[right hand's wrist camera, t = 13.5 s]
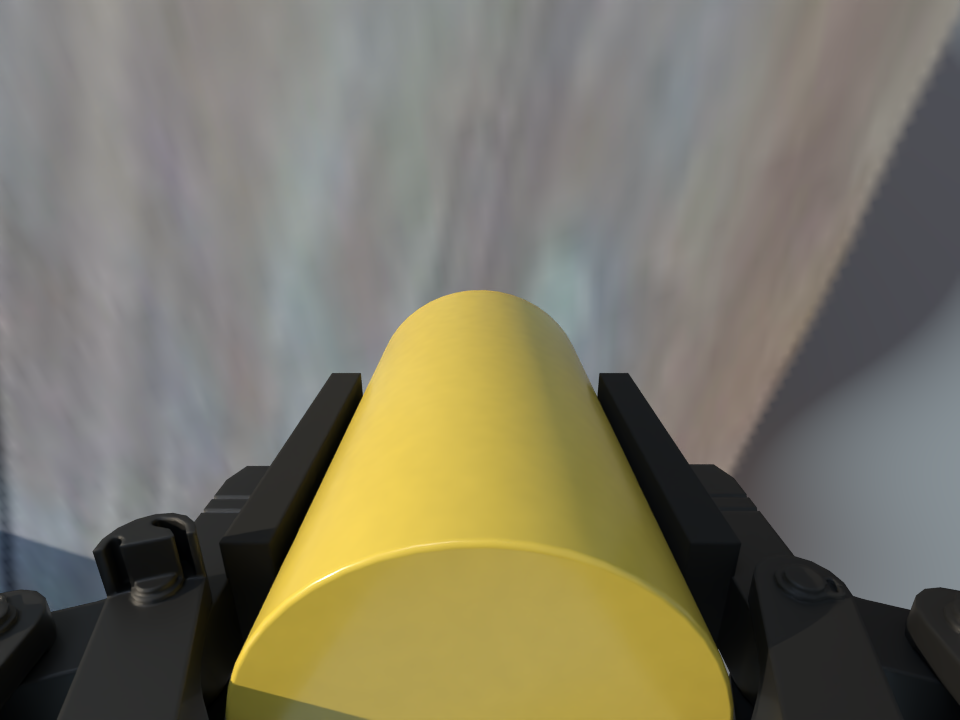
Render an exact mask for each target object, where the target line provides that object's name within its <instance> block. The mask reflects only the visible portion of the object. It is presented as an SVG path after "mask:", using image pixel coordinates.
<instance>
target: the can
mask: <svg viewBox="0 0 960 720" xmlns="http://www.w3.org/2000/svg"><path fill="white" fill-rule="evenodd" d="M733 709H734V704H733V696H732V690H731V685H730V679H729V676H728V673H727V671H726V668H725V666H724V663H723V660H722V658H721V655H720V653H719V651H718V649H717V647H716V645H715V642H714V640H713V638H712V636H711V634H710V632H709V630H708V628H707V626H706V624H705V622H704V619H703V617H702V615H701V613H700V611H699V609H698V607H697V605H696V603H695V601H694V598H693V596H692V594H691V592H690V590H689V588H688V586H687V584H686V582H685V580H684V578H683V575H682V573H681V571H680V569H679V567H678V565H677V563H676V561H675V559H674V557H673V555H672V552H671V550H670V548H669V546H668V544H667V542H666V540H665V538H664V536H663V534H662V531H661V529H660V527H659V525H658V523H657V521H656V519H655V517H654V515H653V513H652V511H651V508H650V506H649V504H648V502H647V500H646V498H645V496H644V494H643V492H642V490H641V488H640V485H639V483H638V481H637V479H636V477H635V475H634V473H633V471H632V469H631V467H630V465H629V462H628V460H627V458H626V456H625V454H624V452H623V450H622V448H621V446H620V444H619V441H618V439H617V437H616V435H615V433H614V431H613V429H612V427H611V425H610V423H609V421H608V418H607V416H606V414H605V412H604V410H603V408H602V406H601V404H600V402H599V400H598V398H597V395H596V393H595V391H594V389H593V387H592V385H591V383H590V381H589V379H588V377H587V374H586V372H585V370H584V368H583V366H582V364H581V362H580V360H579V358H578V356H577V354H576V351H575V349H574V347H573V345H572V343H571V342H570V340H569V338H568V337H567V335H566V333H565V332H564V331H563V330H562V328H561V327H560V326H559V324H558V323H557V322H556V321H555V320H554V319H553V318H551V317H550V316H549V315H548V314H547V313H546V312H544V311H543V310H542V309H540V308H539V307H537V306H536V305H534V304H532V303H530V302H528V301H526V300H524V299H521V298H519V297H516V296H514V295H510V294H506V293H502V292H497V291H487V290H472V291H464V292H457V293H453V294H450V295H446V296H443V297H441V298H438V299H436V300H434V301H431V302H429V303H428V304H426V305H424V306H423V307H421V308H419V309H418V310H417V311H415V312H414V313H413V314H412V315H410V316H409V317H408V318H407V319H406V320H405V321H404V322H403V323H402V324H401V325H400V326H399V328H398V329H397V330H396V332H395V333H394V335H393V336H392V337H391V339H390V341H389V343H388V345H387V347H386V349H385V351H384V353H383V355H382V357H381V359H380V361H379V364H378V366H377V368H376V370H375V372H374V374H373V376H372V378H371V380H370V382H369V384H368V387H367V389H366V391H365V393H364V395H363V397H362V399H361V401H360V403H359V405H358V407H357V410H356V412H355V414H354V416H353V418H352V420H351V422H350V424H349V426H348V428H347V430H346V433H345V435H344V437H343V439H342V441H341V443H340V445H339V447H338V449H337V451H336V453H335V456H334V458H333V460H332V462H331V464H330V466H329V468H328V470H327V472H326V474H325V476H324V479H323V481H322V483H321V485H320V487H319V489H318V491H317V493H316V495H315V497H314V499H313V502H312V504H311V506H310V508H309V510H308V512H307V514H306V516H305V518H304V520H303V522H302V524H301V527H300V529H299V531H298V533H297V535H296V537H295V539H294V541H293V543H292V545H291V547H290V550H289V552H288V554H287V556H286V558H285V560H284V562H283V564H282V566H281V568H280V570H279V573H278V575H277V577H276V579H275V581H274V583H273V585H272V587H271V589H270V591H269V593H268V596H267V598H266V600H265V602H264V604H263V606H262V608H261V610H260V612H259V614H258V616H257V619H256V621H255V623H254V625H253V627H252V629H251V631H250V633H249V635H248V637H247V639H246V642H245V644H244V646H243V648H242V650H241V652H240V654H239V656H238V658H237V660H236V662H235V665H234V668H233V672H232V675H231V678H230V682H229V685H228V691H227V701H226V713H225V715H226V720H733Z"/></svg>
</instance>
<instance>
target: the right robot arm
mask: <svg viewBox="0 0 960 720" xmlns="http://www.w3.org/2000/svg"><path fill="white" fill-rule="evenodd" d="M362 397H363V392H362V381H361V373H332V374H331V376H330V377H329V379H328V380H327V382H326V383H325V385H324V386H323V388H322V389H321V391H320V392H319V394H318V395H317V397H316V398H315V400H314V401H313V403H312V404H311V406H310V407H309V409H308V410H307V412H306V413H305V415H304V416H303V418H302V419H301V421H300V422H299V424H298V425H297V427H296V428H295V430H294V431H293V433H292V434H291V436H290V437H289V439H288V440H287V442H286V443H285V445H284V446H283V448H282V449H281V451H280V452H279V454H278V455H277V457H276V458H275V460H274V461H273V463H272V464H271V466H246V467H245V468H244V469H242V470H241V471H239V472H238V473H236V474H235V475H233V476H232V477H230V478H229V479H227V480H226V482H225V483H224V484H223V485H222V487H221V488H220V489H219V491H218V492H217V493H216V495H215V496H214V499H212V500H211V501H210V502H209V504H208V505H207V506H206V507H205V509H204V513H201V514H200V515H199V517H198V518H197V519H196V520H195V522H194V521H192V520H191V519H190V518H189V517H187V516H185V515H180V514H176V513H166V514H155V515H151V516H147V517H144V518H140V519H136V520H134V521H132V522H130V523H128V524H125V525H123V526H121V527H119V528H117V529H116V530H114V531H113V532H112V533H110V534H109V535H107V536H106V537H105V538H103V539H102V540H101V542H100V543H99V544H98V545H97V547H96V548H95V549H94V550H93V554H94V557H95V560H96V563H97V566H98V569H99V573H100V576H101V579H102V582H103V585H104V588H105V591H106V594H107V599H103V600H100V601H97V602H92V603H88V604H84V605H79V606H75V607H71V608H66V609H62V610H58V611H53V612H50V609H49V606H48V604H47V601H46V598H45V597H44V596H42V595H41V594H40V593H38V592H37V591H30V590H16V591H10V592H4V593H0V720H226V715H225V713H226V701H227V691H228V685H229V682H230V678H231V673H232V671H233V668H234V665H235V662H236V660H237V658H238V656H239V654H240V652H241V650H242V648H243V646H244V644H245V642H246V639H247V637H248V635H249V633H250V631H251V629H252V627H253V625H254V623H255V621H256V619H257V616H258V614H259V612H260V610H261V608H262V606H263V604H264V602H265V600H266V598H267V596H268V593H269V591H270V589H271V587H272V585H273V583H274V581H275V579H276V577H277V575H278V573H279V570H280V568H281V566H282V564H283V562H284V560H285V558H286V556H287V554H288V552H289V550H290V547H291V545H292V543H293V541H294V539H295V537H296V535H297V533H298V531H299V529H300V527H301V524H302V522H303V520H304V518H305V516H306V514H307V512H308V510H309V508H310V506H311V504H312V502H313V499H314V497H315V495H316V493H317V491H318V489H319V487H320V485H321V483H322V481H323V479H324V476H325V474H326V472H327V470H328V468H329V466H330V464H331V462H332V460H333V458H334V456H335V453H336V451H337V449H338V447H339V445H340V443H341V441H342V439H343V437H344V435H345V433H346V430H347V428H348V426H349V424H350V422H351V420H352V418H353V416H354V414H355V412H356V410H357V407H358V405H359V403H360V401H361V399H362ZM597 398H598V400H599V402H600V404H601V406H602V408H603V410H604V412H605V414H606V416H607V418H608V421H609V423H610V425H611V427H612V429H613V431H614V433H615V435H616V437H617V439H618V441H619V444H620V446H621V448H622V450H623V452H624V454H625V456H626V458H627V460H628V462H629V465H630V467H631V469H632V471H633V473H634V475H635V477H636V479H637V481H638V483H639V485H640V488H641V490H642V492H643V494H644V496H645V498H646V500H647V502H648V504H649V506H650V508H651V511H652V513H653V515H654V517H655V519H656V521H657V523H658V525H659V527H660V529H661V531H662V534H663V536H664V538H665V540H666V542H667V544H668V546H669V548H670V550H671V552H672V555H673V557H674V559H675V561H676V563H677V565H678V567H679V569H680V571H681V573H682V575H683V578H684V580H685V582H686V584H687V586H688V588H689V590H690V592H691V594H692V596H693V598H694V601H695V603H696V605H697V607H698V609H699V611H700V613H701V615H702V617H703V619H704V622H705V624H706V626H707V628H708V630H709V632H710V634H711V636H712V638H713V640H714V642H715V645H716V647H717V649H719V651H720V653H721V655H722V657H723V659H724V661H725V663H726V665H727V667H728V669H729V672H730V674H729V679H730V685H731V690H732V696H733V704H734V709H733V720H960V591H958V590H952V589H947V588H941V587H940V588H930V589H924V590H923V591H921V592H920V593H919V594H917V595H916V597H915V600H914V602H913V605H912V608H911V610H908V609H904V608H899V607H895V606H891V605H887V604H882V603H878V602H873V601H869V600H865V599H861V598H858V597H855V596H853V595H852V594H851V592H850V591H849V589H848V588H847V587H846V585H845V584H844V582H842V581H841V580H840V579H839V578H838V577H836V576H835V575H834V574H833V573H831V572H830V571H829V570H827V569H825V568H823V567H821V566H819V565H817V564H816V563H814V562H812V561H808V560H805V559H802V558H799V557H795V556H794V555H793V554H792V552H791V551H790V550H789V548H788V547H787V546H786V545H785V543H784V542H783V541H782V539H781V538H780V537H779V536H778V534H777V533H776V532H775V530H774V529H773V528H772V527H771V525H770V524H769V523H768V521H767V520H766V519H765V518H764V516H763V515H762V514H761V512H760V511H757V507H756V506H755V505H754V503H753V502H752V501H751V500H750V498H747V496H746V493H745V492H744V490H743V489H742V488H741V487H740V485H739V484H738V483H737V481H736V480H735V479H734V478H733V477H731V476H730V475H728V474H727V473H726V472H724V471H723V470H721V469H720V468H718V467H717V466H715V465H714V464H688V462H687V461H686V459H685V458H684V456H683V455H682V453H681V452H680V450H679V449H678V447H677V446H676V444H675V443H674V441H673V440H672V438H671V437H670V435H669V434H668V432H667V431H666V429H665V428H664V426H663V425H662V423H661V422H660V420H659V419H658V417H657V416H656V414H655V413H654V411H653V410H652V408H651V407H650V405H649V404H648V402H647V401H646V399H645V398H644V396H643V395H642V393H641V392H640V390H639V389H638V387H637V386H636V384H635V383H634V381H633V380H632V378H631V377H630V375H629V374H628V373H599V385H598V396H597Z"/></svg>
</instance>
